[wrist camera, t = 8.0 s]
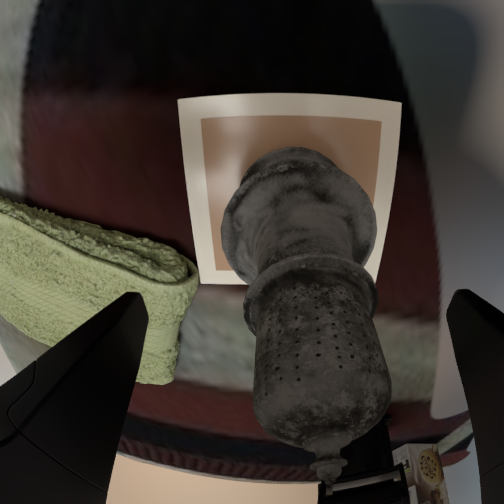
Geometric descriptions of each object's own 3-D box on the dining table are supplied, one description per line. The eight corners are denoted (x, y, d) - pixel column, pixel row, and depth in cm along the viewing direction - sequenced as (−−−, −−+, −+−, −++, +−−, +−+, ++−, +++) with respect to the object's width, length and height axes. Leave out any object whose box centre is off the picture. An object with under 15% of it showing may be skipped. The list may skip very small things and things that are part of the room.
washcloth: (-11, 179, 15) (-40, 197, 12) (209, 246, 17) (198, 281, 14) (12, 305, 22) (-5, 327, 19) (177, 371, 24) (169, 402, 21)
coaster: (395, 101, 12) (402, 103, 11) (372, 275, 17) (375, 283, 16) (181, 98, 12) (176, 99, 12) (203, 276, 18) (200, 284, 17)
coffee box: (375, 458, 35) (384, 547, 22) (407, 441, 32) (422, 538, 18) (408, 458, 37) (420, 536, 23) (438, 443, 34) (454, 525, 20)
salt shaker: (220, 149, 13) (79, 409, 3) (351, 134, 12) (557, 349, 2) (242, 260, 16) (211, 506, 6) (354, 248, 15) (429, 483, 5)
